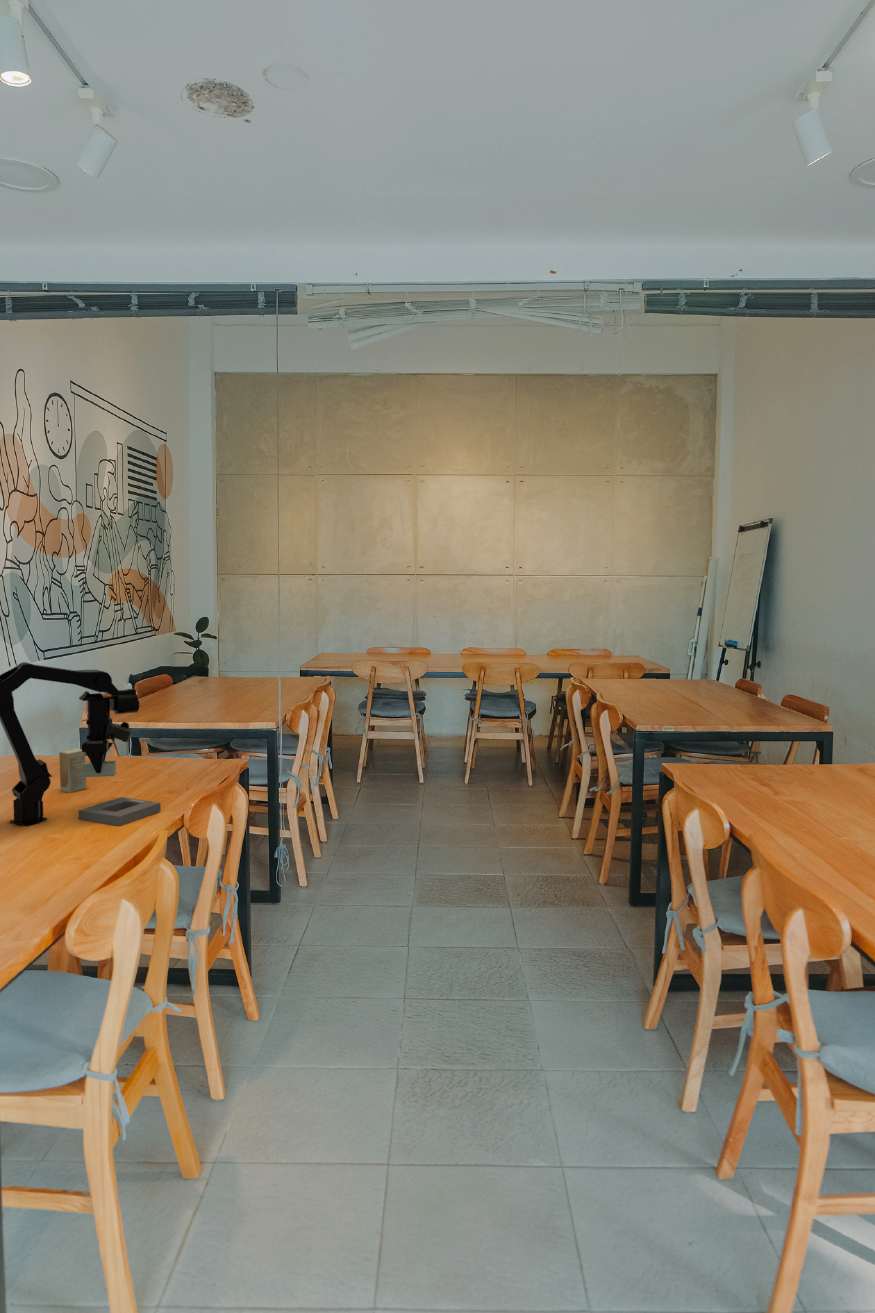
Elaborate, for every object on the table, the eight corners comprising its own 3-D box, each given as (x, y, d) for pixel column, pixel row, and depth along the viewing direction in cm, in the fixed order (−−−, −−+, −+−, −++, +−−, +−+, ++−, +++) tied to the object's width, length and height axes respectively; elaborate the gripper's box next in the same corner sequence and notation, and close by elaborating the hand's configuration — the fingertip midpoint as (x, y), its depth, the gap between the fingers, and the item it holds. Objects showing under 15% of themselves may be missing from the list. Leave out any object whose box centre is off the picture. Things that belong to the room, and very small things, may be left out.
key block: (114, 776, 224) (113, 763, 223) (82, 777, 222) (82, 764, 221) (116, 772, 227) (115, 760, 227) (85, 774, 225) (85, 761, 225)
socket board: (119, 826, 211) (119, 816, 211) (78, 819, 216) (78, 809, 216) (160, 811, 225) (160, 802, 225) (121, 805, 231) (121, 796, 230)
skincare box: (78, 787, 251) (77, 748, 250) (87, 789, 249) (86, 749, 248) (59, 791, 246) (58, 751, 245) (68, 793, 243) (67, 753, 242)
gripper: (125, 720, 216) (126, 777, 217) (133, 710, 234) (134, 763, 235) (81, 721, 213) (82, 779, 215) (92, 710, 231) (93, 764, 233)
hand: (99, 771), depth 224 cm, fingers closed on key block, 4 cm apart
